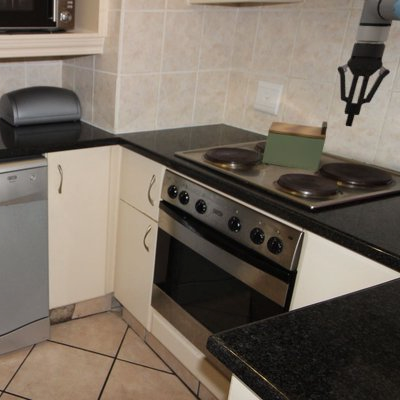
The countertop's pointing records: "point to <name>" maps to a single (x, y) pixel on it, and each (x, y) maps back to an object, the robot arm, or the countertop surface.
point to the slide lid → (299, 130)
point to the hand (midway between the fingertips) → (348, 125)
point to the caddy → (293, 151)
